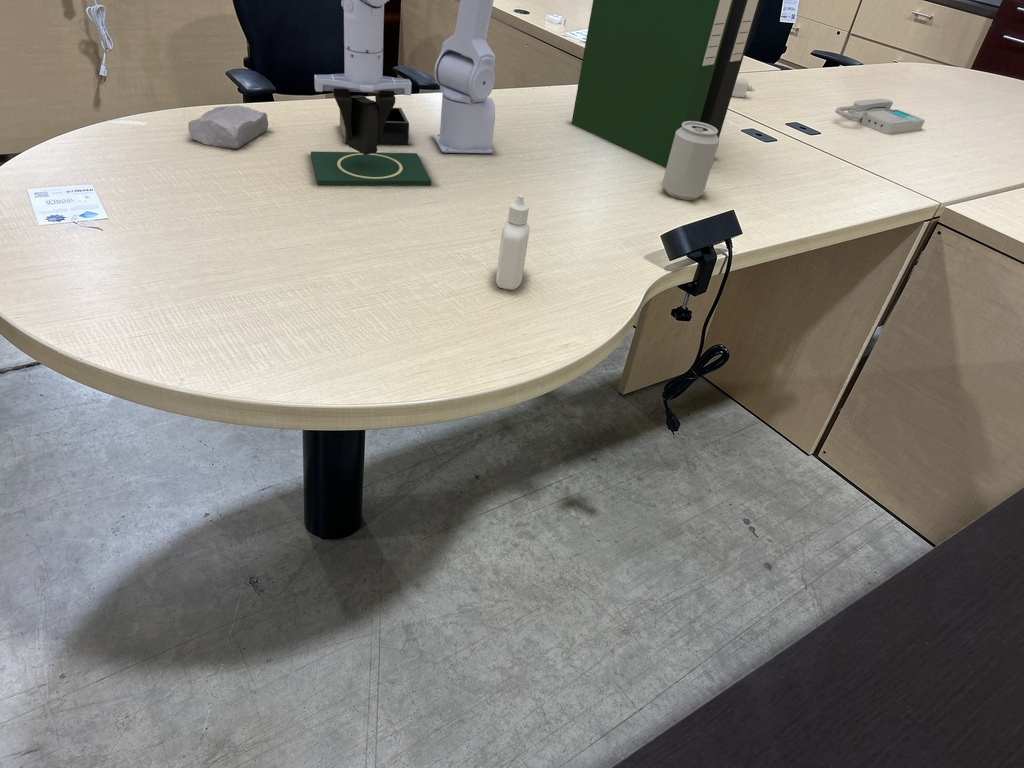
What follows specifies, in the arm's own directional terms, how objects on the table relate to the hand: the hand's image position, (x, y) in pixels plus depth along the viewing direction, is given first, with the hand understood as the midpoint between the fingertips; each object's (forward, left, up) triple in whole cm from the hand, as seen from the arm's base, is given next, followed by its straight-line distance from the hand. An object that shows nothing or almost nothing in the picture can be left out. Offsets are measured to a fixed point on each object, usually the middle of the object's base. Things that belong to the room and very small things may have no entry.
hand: (363, 138), depth 118 cm
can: (-55, +9, -6) cm, 56 cm away
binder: (-59, -17, -6) cm, 62 cm away
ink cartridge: (0, 0, -2) cm, 2 cm away
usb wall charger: (-104, -52, -6) cm, 117 cm away
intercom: (-132, -33, -6) cm, 136 cm away
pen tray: (-4, -16, -5) cm, 17 cm away
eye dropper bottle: (-14, +37, -6) cm, 40 cm away
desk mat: (-1, 0, -5) cm, 6 cm away
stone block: (+21, -15, -6) cm, 26 cm away
